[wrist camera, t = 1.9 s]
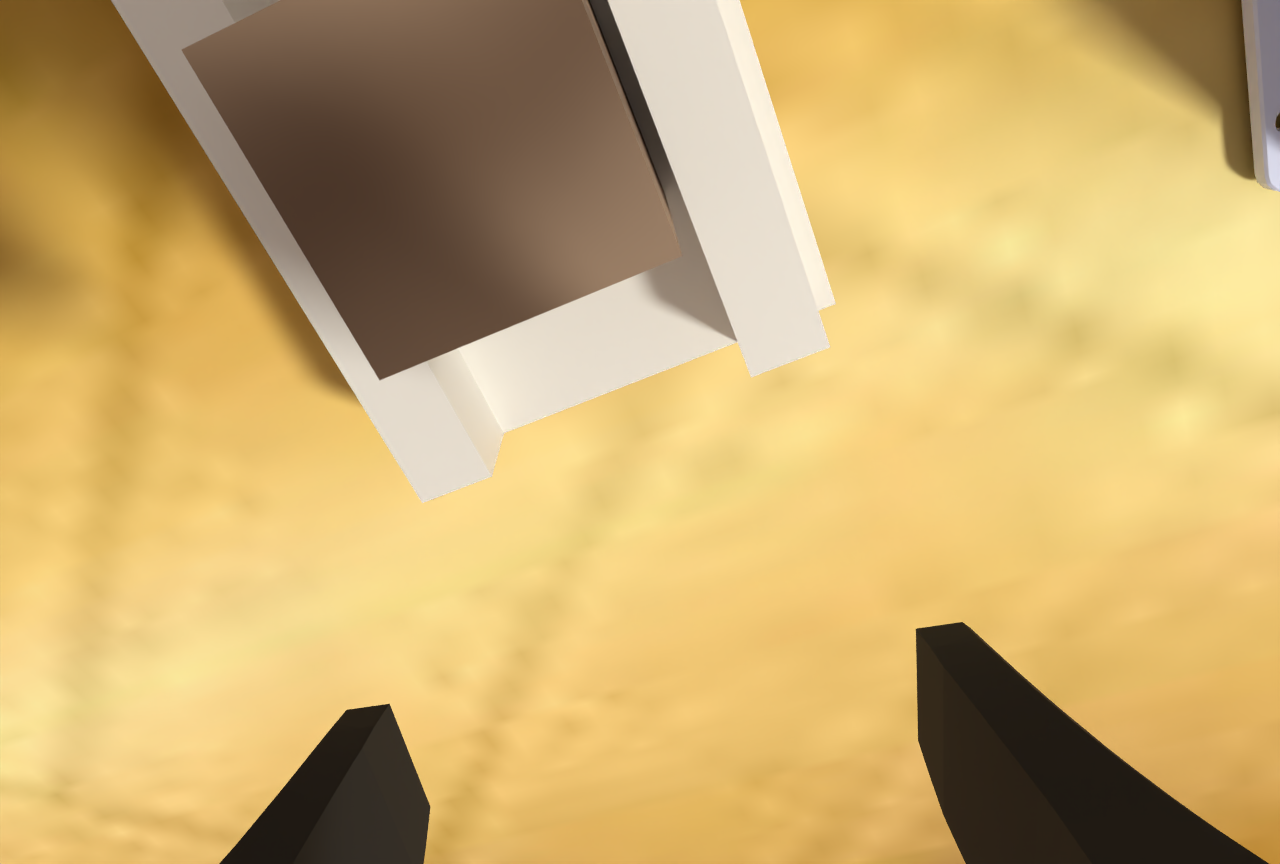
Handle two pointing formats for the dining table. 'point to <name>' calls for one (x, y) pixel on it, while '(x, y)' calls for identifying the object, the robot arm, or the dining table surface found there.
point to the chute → (604, 320)
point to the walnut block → (442, 160)
